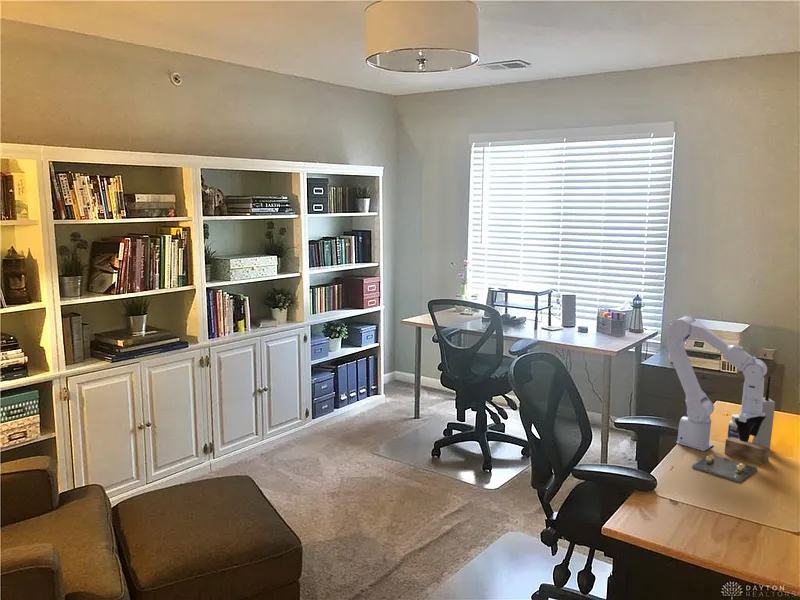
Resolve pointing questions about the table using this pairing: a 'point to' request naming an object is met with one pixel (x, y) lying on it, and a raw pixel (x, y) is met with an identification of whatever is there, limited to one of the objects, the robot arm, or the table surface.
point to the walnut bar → (747, 450)
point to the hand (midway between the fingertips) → (748, 438)
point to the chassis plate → (724, 468)
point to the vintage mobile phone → (766, 420)
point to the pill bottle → (733, 428)
